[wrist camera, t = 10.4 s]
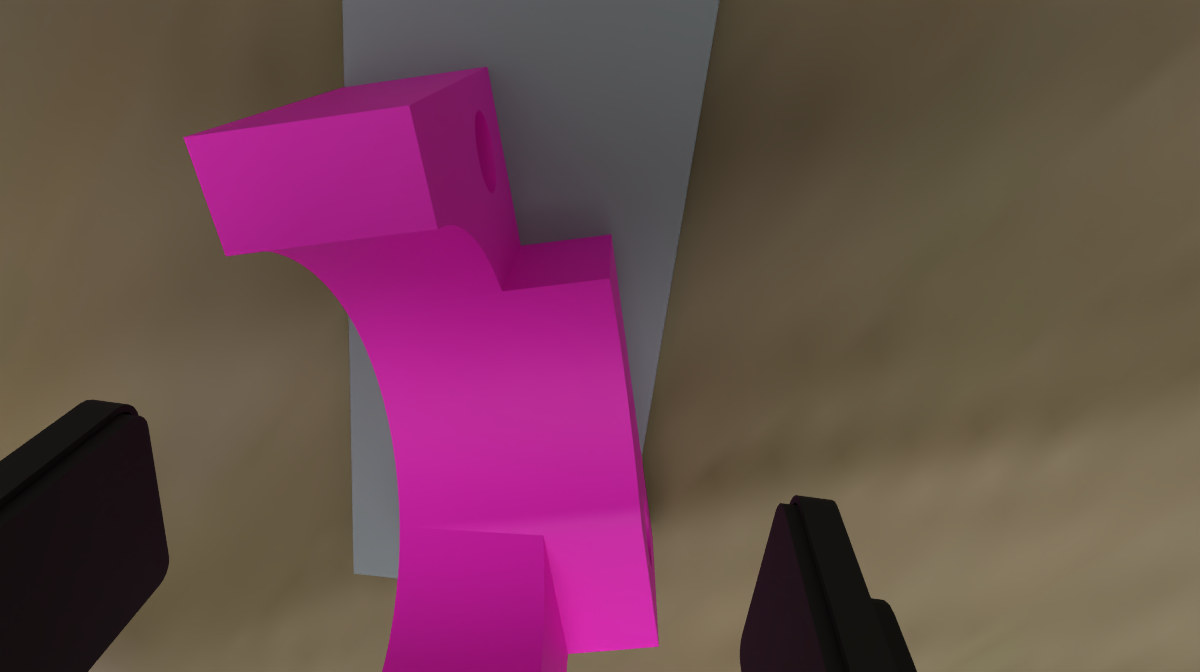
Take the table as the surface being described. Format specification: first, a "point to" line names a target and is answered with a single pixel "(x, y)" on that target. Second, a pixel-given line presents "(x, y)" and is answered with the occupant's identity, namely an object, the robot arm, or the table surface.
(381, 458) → the mat
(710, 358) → the table surface
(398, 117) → the toy block
